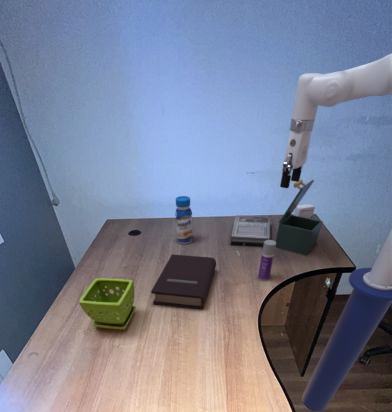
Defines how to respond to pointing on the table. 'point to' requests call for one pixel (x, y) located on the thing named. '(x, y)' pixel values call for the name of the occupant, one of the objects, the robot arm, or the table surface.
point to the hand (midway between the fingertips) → (289, 184)
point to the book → (184, 282)
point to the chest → (298, 234)
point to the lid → (297, 198)
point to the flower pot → (109, 303)
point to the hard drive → (250, 231)
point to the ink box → (304, 211)
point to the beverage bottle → (184, 220)
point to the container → (267, 259)
